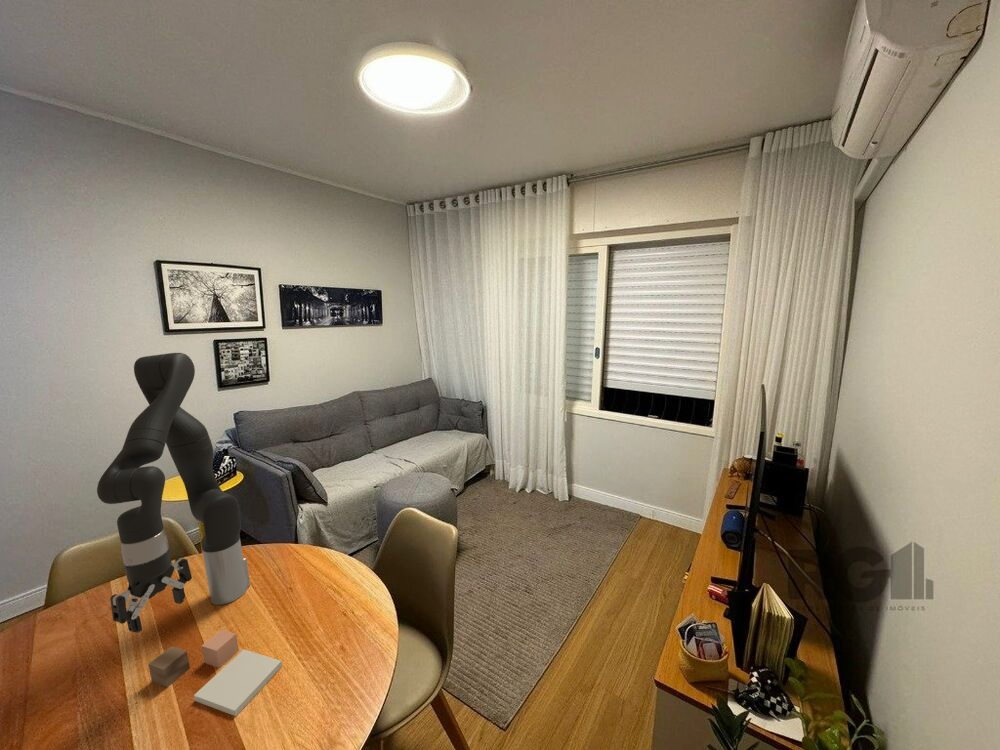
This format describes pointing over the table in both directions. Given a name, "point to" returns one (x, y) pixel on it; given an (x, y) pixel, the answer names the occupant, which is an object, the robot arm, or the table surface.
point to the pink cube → (220, 648)
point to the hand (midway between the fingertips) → (159, 616)
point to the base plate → (238, 682)
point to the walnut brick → (169, 666)
